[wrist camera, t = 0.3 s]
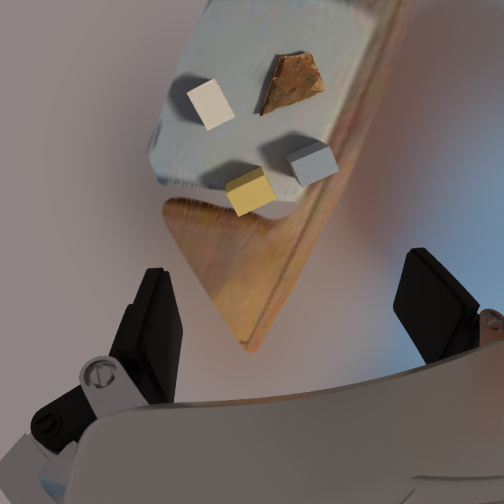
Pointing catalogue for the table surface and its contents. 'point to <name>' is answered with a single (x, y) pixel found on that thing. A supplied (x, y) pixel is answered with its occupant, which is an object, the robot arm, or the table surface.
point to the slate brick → (312, 163)
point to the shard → (292, 82)
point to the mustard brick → (249, 191)
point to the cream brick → (211, 104)
